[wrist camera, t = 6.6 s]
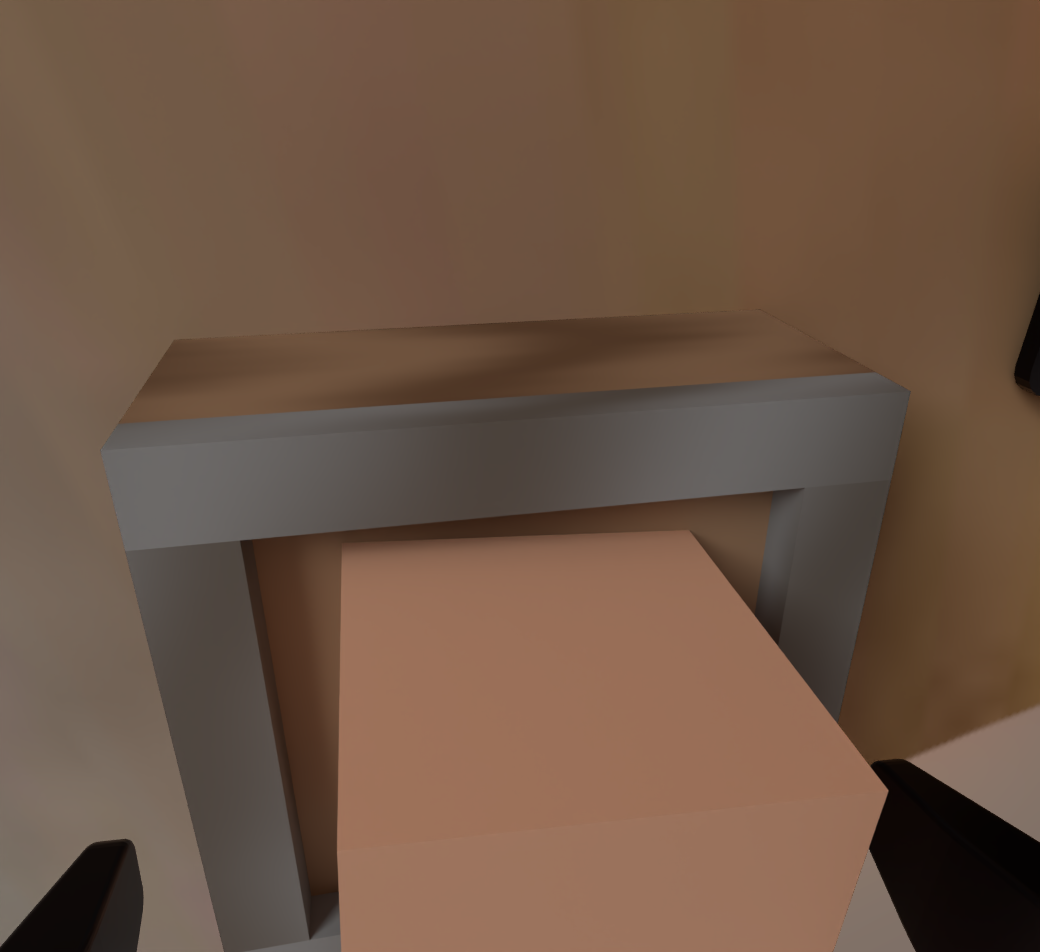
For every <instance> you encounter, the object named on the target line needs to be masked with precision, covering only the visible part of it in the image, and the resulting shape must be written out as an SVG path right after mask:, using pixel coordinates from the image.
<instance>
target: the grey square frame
mask: <svg viewBox="0 0 1040 952" xmlns="http://www.w3.org/2000/svg"><path fill="white" fill-rule="evenodd" d="M910 392H911V391H909V390H907V389H905V388H904V387H902V386H900V385H898V384H896V383H894V382H892V381H891V380H889V379H887V378H885V377H883V376H881V375H880V374H878V373H876V372H874V371H872V370H870V369H869V368H867V367H865V366H863V365H861V364H859V363H858V362H856V361H854V360H852V359H850V358H848V357H847V356H845V355H843V354H841V353H839V352H837V351H836V350H834V349H832V348H830V347H828V346H826V345H824V344H823V343H821V342H819V341H817V340H815V339H813V338H812V337H810V336H808V335H806V334H804V333H802V332H801V331H799V330H797V329H795V328H793V327H791V326H790V325H788V324H786V323H784V322H782V321H780V320H779V319H777V318H775V317H773V316H771V315H769V314H767V313H766V312H764V311H762V310H760V309H759V310H739V311H720V312H701V313H682V314H662V315H643V316H624V317H605V318H585V319H566V320H547V321H528V322H508V323H489V324H470V325H451V326H431V327H412V328H393V329H374V330H354V331H335V332H316V333H297V334H277V335H258V336H239V337H220V338H200V339H181V340H174V341H173V343H172V344H171V346H170V347H169V349H168V350H167V352H166V353H165V355H164V356H163V358H162V359H161V361H160V362H159V364H158V365H157V367H156V368H155V370H154V371H153V373H152V374H151V376H150V377H149V379H148V380H147V382H146V383H145V385H144V386H143V388H142V389H141V391H140V392H139V394H138V395H137V397H136V398H135V400H134V401H133V403H132V404H131V406H130V407H129V409H128V410H127V412H126V413H125V415H124V416H123V418H122V419H121V421H120V422H119V424H118V425H117V426H116V428H115V429H114V431H113V432H112V434H111V435H110V437H109V438H108V440H107V441H106V443H105V444H104V446H103V447H102V449H101V450H100V451H101V455H102V459H103V463H104V467H105V471H106V475H107V479H108V483H109V487H110V491H111V495H112V499H113V503H114V507H115V512H116V516H117V520H118V524H119V528H120V532H121V536H122V540H123V544H124V548H125V552H126V556H127V560H128V564H129V568H130V572H131V576H132V580H133V584H134V589H135V593H136V597H137V601H138V605H139V609H140V613H141V617H142V621H143V625H144V629H145V633H146V637H147V641H148V645H149V649H150V653H151V657H152V661H153V666H154V670H155V674H156V678H157V682H158V686H159V690H160V694H161V698H162V702H163V706H164V710H165V714H166V718H167V722H168V726H169V730H170V734H171V738H172V743H173V747H174V751H175V755H176V759H177V763H178V767H179V771H180V775H181V779H182V783H183V787H184V791H185V795H186V799H187V803H188V807H189V811H190V815H191V820H192V824H193V828H194V832H195V836H196V840H197V844H198V848H199V852H200V856H201V860H202V864H203V868H204V872H205V876H206V880H207V884H208V888H209V892H210V897H211V901H212V905H213V909H214V913H215V917H216V921H217V925H218V929H219V933H220V937H221V941H222V945H223V949H224V952H341V932H340V909H339V885H338V862H337V821H338V758H339V694H340V631H341V567H342V543H357V542H383V541H409V540H435V539H460V538H486V537H512V536H539V535H566V534H593V533H621V532H648V531H675V530H689V531H690V532H691V533H692V535H693V536H694V537H695V538H696V540H697V541H698V542H699V544H700V545H701V546H702V548H703V549H704V550H705V551H706V553H707V554H708V555H709V557H710V558H711V559H712V561H713V562H714V563H715V565H716V566H717V567H718V568H719V570H720V571H721V572H722V574H723V575H724V576H725V578H726V579H727V580H728V582H729V583H730V584H731V585H732V587H733V588H734V589H735V591H736V592H737V593H738V595H739V596H740V597H741V599H742V600H743V601H744V602H745V604H746V605H747V606H748V608H749V609H750V610H751V612H752V613H753V614H754V616H755V617H756V618H757V619H758V621H759V622H760V623H761V625H762V626H763V627H764V629H765V630H766V631H767V632H768V634H769V635H770V636H771V638H772V639H773V640H774V642H775V643H776V644H777V646H778V647H779V648H780V649H781V651H782V652H783V653H784V655H785V656H786V657H787V659H788V660H789V661H790V663H791V664H792V665H793V666H794V668H795V669H796V670H797V672H798V673H799V674H800V676H801V677H802V678H803V680H804V681H805V682H806V683H807V685H808V686H809V687H810V689H811V690H812V691H813V693H814V694H815V695H816V697H817V698H818V699H819V700H820V702H821V703H822V704H823V706H824V707H825V708H826V710H827V711H828V712H829V714H830V715H831V716H832V717H833V719H834V720H835V721H836V723H837V724H838V719H839V715H840V710H841V706H842V701H843V696H844V692H845V687H846V683H847V678H848V674H849V669H850V665H851V660H852V656H853V651H854V646H855V642H856V637H857V633H858V628H859V624H860V619H861V615H862V610H863V606H864V601H865V596H866V592H867V587H868V583H869V578H870V574H871V569H872V565H873V560H874V556H875V551H876V546H877V542H878V537H879V533H880V528H881V524H882V519H883V515H884V510H885V506H886V501H887V496H888V492H889V487H890V483H891V478H892V474H893V469H894V465H895V460H896V456H897V451H898V446H899V442H900V437H901V433H902V428H903V424H904V419H905V415H906V410H907V406H908V401H909V396H910Z"/></svg>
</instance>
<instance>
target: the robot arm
mask: <svg viewBox="0 0 1040 952" xmlns="http://www.w3.org/2000/svg"><path fill="white" fill-rule="evenodd" d="M1014 376H1015V380H1016V383H1017V384H1018V385H1019V386H1020V387H1021V388H1022V389H1024V390H1026V391H1029V392H1031V393H1033V394H1035V395H1039V396H1040V294H1039V297H1038V300H1037V303H1036V306H1035V309H1034V312H1033V315H1032V318H1031V321H1030V324H1029V327H1028V330H1027V333H1026V336H1025V339H1024V342H1023V345H1022V348H1021V351H1020V354H1019V357H1018V360H1017V363H1016V367H1015V373H1014ZM870 767H871V768H872V770H873V771H874V772H875V774H876V775H877V776H878V778H879V779H880V780H881V781H882V783H883V784H884V785H885V787H886V788H887V789H888V794H887V797H886V800H885V803H884V805H883V808H882V811H881V814H880V817H879V820H878V823H877V826H876V829H875V832H874V834H873V837H872V840H871V843H870V846H869V850H870V852H871V854H872V857H873V859H874V861H875V863H876V866H877V868H878V870H879V872H880V875H881V877H882V879H883V881H884V884H885V886H886V888H887V891H888V893H889V895H890V897H891V899H892V902H893V904H894V906H895V909H896V911H897V913H898V915H899V918H900V920H901V922H902V924H903V927H904V929H905V931H906V933H907V935H908V937H909V939H910V941H911V943H912V945H913V947H914V949H915V951H916V952H1040V842H1038V841H1037V840H1035V839H1034V838H1032V837H1030V836H1029V835H1027V834H1025V833H1024V832H1022V831H1021V830H1019V829H1017V828H1016V827H1014V826H1012V825H1011V824H1009V823H1008V822H1006V821H1004V820H1003V819H1001V818H1000V817H998V816H996V815H995V814H993V813H991V812H990V811H988V810H987V809H985V808H983V807H982V806H980V805H978V804H977V803H975V802H974V801H972V800H970V799H969V798H967V797H965V796H964V795H962V794H961V793H959V792H957V791H956V790H954V789H952V788H951V787H949V786H948V785H946V784H944V783H943V782H941V781H939V780H938V779H936V778H935V777H933V776H931V775H930V774H928V773H927V772H925V771H923V770H922V769H920V768H918V767H916V766H915V765H913V764H912V763H910V762H908V761H906V760H903V759H891V760H882V761H876V762H874V763H873V764H872V765H871V766H870ZM142 912H143V887H142V881H141V876H140V871H139V866H138V861H137V855H136V850H135V846H134V844H133V843H132V841H131V840H128V839H120V840H110V841H100V842H95V843H93V844H91V845H89V846H88V847H87V848H86V849H85V850H84V851H83V852H82V853H81V854H80V856H79V857H78V858H77V859H76V860H75V861H74V863H73V864H72V865H71V866H70V867H69V868H68V869H67V871H66V872H65V873H64V874H63V875H62V876H61V878H60V879H59V880H58V881H57V882H56V883H55V884H54V886H53V887H52V888H51V889H50V890H49V891H48V892H47V894H46V895H45V896H44V897H43V898H42V899H41V901H40V902H39V903H38V904H37V905H36V906H35V907H34V909H33V910H32V911H31V912H30V913H29V914H28V916H27V917H26V918H25V919H24V920H23V921H22V922H21V924H20V925H19V926H18V927H17V928H16V929H15V931H14V932H13V933H12V934H11V935H10V936H9V937H8V939H7V940H6V941H5V942H4V943H3V944H2V946H1V947H0V952H137V945H138V939H139V932H140V926H141V919H142Z"/></svg>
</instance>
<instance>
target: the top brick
mask: <svg viewBox="0 0 1040 952" xmlns="http://www.w3.org/2000/svg"><path fill="white" fill-rule="evenodd" d="M887 794H888V789H887V788H886V787H885V785H884V784H883V783H882V781H881V780H880V779H879V778H878V776H877V775H876V774H875V772H874V771H873V770H872V768H871V767H870V766H869V764H868V763H867V762H866V761H865V759H864V758H863V757H862V755H861V754H860V753H859V751H858V750H857V749H856V747H855V746H854V745H853V744H852V742H851V741H850V740H849V738H848V737H847V736H846V734H845V733H844V732H843V730H842V729H841V728H840V727H839V725H838V724H837V723H836V721H835V720H834V719H833V717H832V716H831V715H830V714H829V712H828V711H827V710H826V708H825V707H824V706H823V704H822V703H821V702H820V700H819V699H818V698H817V697H816V695H815V694H814V693H813V691H812V690H811V689H810V687H809V686H808V685H807V683H806V682H805V681H804V680H803V678H802V677H801V676H800V674H799V673H798V672H797V670H796V669H795V668H794V666H793V665H792V664H791V663H790V661H789V660H788V659H787V657H786V656H785V655H784V653H783V652H782V651H781V649H780V648H779V647H778V646H777V644H776V643H775V642H774V640H773V639H772V638H771V636H770V635H769V634H768V632H767V631H766V630H765V629H764V627H763V626H762V625H761V623H760V622H759V621H758V619H757V618H756V617H755V616H754V614H753V613H752V612H751V610H750V609H749V608H748V606H747V605H746V604H745V602H744V601H743V600H742V599H741V597H740V596H739V595H738V593H737V592H736V591H735V589H734V588H733V587H732V585H731V584H730V583H729V582H728V580H727V579H726V578H725V576H724V575H723V574H722V572H721V571H720V570H719V568H718V567H717V566H716V565H715V563H714V562H713V561H712V559H711V558H710V557H709V555H708V554H707V553H706V551H705V550H704V549H703V548H702V546H701V545H700V544H699V542H698V541H697V540H696V538H695V537H694V536H693V535H692V533H691V532H690V531H689V530H675V531H648V532H621V533H593V534H566V535H539V536H512V537H486V538H460V539H435V540H409V541H383V542H357V543H342V567H341V631H340V694H339V758H338V821H337V862H338V885H339V909H340V932H341V952H833V950H834V948H835V944H836V942H837V939H838V936H839V933H840V930H841V927H842V924H843V921H844V918H845V916H846V913H847V910H848V907H849V904H850V901H851V898H852V895H853V893H854V890H855V887H856V884H857V880H858V878H859V875H860V872H861V869H862V866H863V863H864V861H865V857H866V855H867V851H868V849H869V846H870V843H871V840H872V837H873V834H874V832H875V829H876V826H877V823H878V820H879V817H880V814H881V811H882V808H883V805H884V803H885V800H886V797H887Z"/></svg>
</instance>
